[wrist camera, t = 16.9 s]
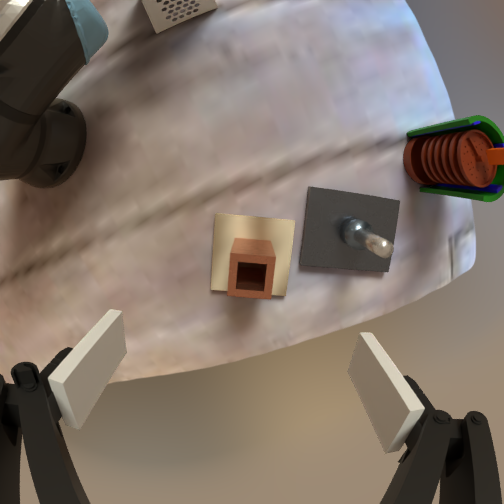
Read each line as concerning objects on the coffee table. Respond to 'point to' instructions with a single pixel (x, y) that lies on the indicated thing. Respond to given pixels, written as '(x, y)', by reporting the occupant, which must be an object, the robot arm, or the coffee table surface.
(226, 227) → the plywood pad
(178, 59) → the coffee table surface
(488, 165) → the motor
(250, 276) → the square copper sleeve
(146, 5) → the grater
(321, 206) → the grey peg stand
